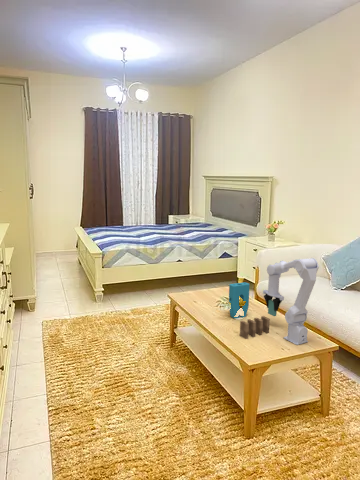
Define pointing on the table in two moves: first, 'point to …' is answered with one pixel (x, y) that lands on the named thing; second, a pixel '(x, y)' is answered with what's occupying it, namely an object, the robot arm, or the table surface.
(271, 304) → the teal domino
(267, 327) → the walnut domino
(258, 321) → the walnut domino
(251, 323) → the walnut domino
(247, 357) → the table surface
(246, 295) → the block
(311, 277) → the robot arm
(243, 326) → the walnut domino
